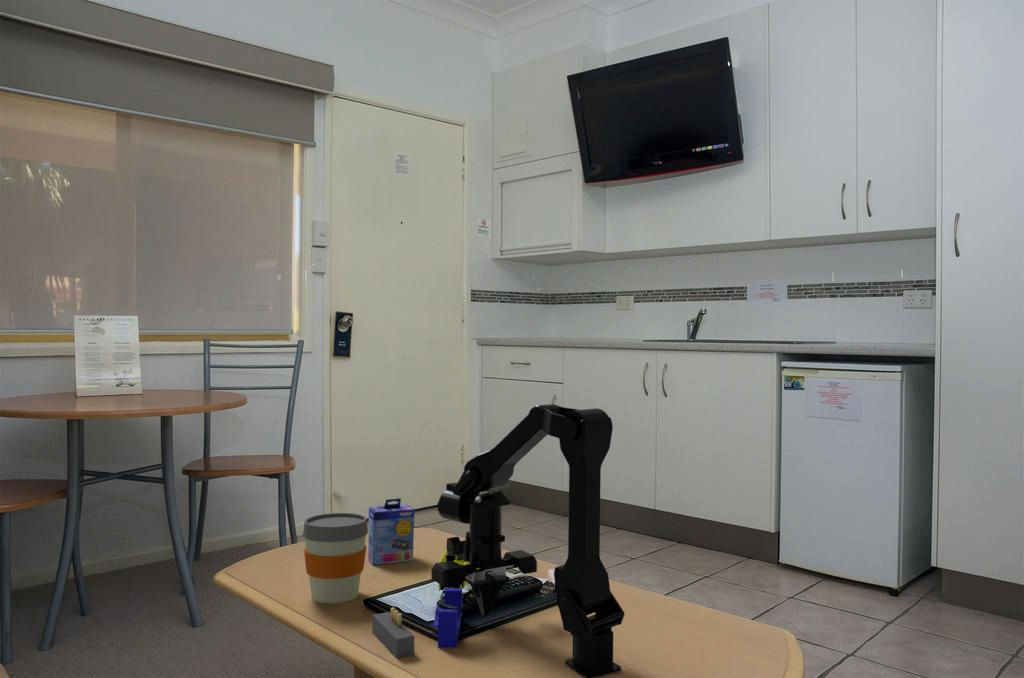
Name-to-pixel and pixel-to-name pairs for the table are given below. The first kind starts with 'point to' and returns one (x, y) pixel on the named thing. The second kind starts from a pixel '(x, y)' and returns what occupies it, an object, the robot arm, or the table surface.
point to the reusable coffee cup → (335, 555)
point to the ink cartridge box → (391, 533)
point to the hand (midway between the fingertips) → (485, 616)
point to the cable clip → (449, 619)
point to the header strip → (393, 633)
